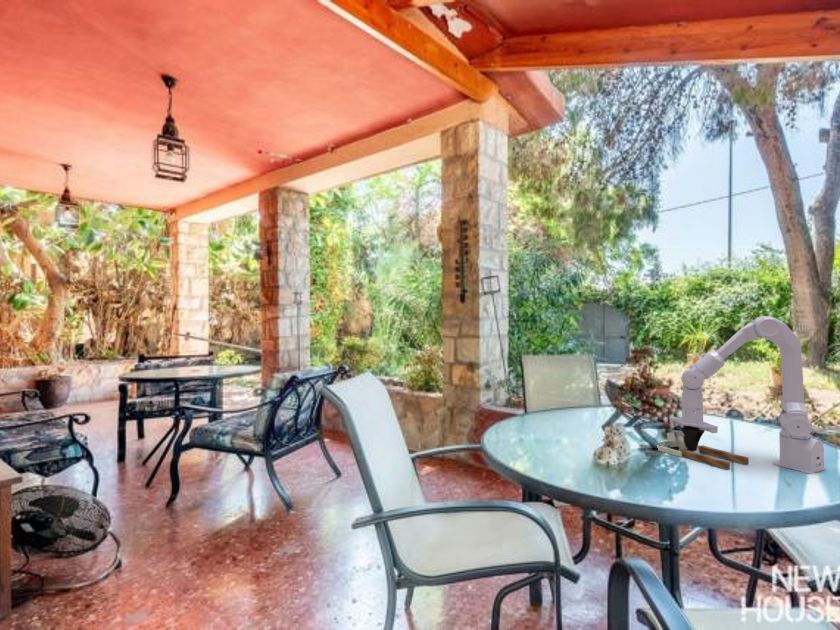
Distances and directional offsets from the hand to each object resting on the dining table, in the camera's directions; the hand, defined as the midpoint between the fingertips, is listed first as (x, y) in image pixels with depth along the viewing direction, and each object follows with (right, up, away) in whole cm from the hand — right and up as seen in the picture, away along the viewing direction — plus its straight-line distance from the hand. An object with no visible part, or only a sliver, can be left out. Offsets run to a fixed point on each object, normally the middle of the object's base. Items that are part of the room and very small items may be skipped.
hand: (693, 450), depth 146 cm
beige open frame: (-2, -1, +5) cm, 6 cm away
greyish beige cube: (-1, -1, +7) cm, 7 cm away
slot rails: (+3, -1, -6) cm, 7 cm away
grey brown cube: (0, -1, +2) cm, 2 cm away
